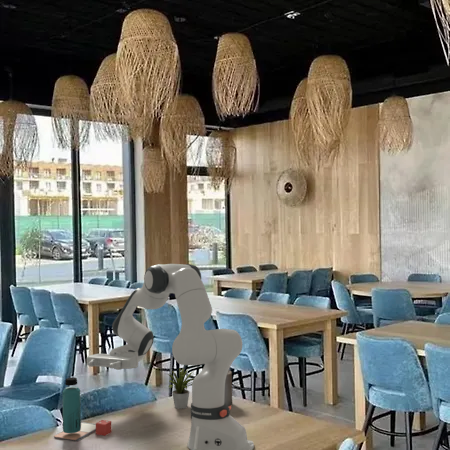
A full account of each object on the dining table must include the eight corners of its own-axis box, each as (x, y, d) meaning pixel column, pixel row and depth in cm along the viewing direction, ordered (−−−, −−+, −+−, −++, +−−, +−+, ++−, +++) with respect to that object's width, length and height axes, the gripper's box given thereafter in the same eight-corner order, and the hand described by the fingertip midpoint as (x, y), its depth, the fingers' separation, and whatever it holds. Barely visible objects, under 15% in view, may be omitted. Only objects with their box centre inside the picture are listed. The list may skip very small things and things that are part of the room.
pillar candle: (222, 399, 254) (221, 364, 254) (237, 404, 246) (236, 369, 246) (204, 404, 248) (203, 368, 248) (218, 409, 240) (218, 373, 240)
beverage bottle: (76, 438, 206) (76, 380, 206) (58, 437, 208) (58, 380, 208) (84, 431, 213) (84, 376, 213) (67, 430, 214) (67, 375, 214)
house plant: (177, 415, 233) (177, 374, 233) (155, 408, 242) (155, 368, 243) (203, 407, 243) (203, 367, 243) (181, 400, 253) (181, 362, 253)
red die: (111, 432, 214) (111, 420, 214) (105, 435, 211) (105, 424, 211) (102, 430, 216) (102, 419, 216) (95, 434, 212) (95, 422, 212)
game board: (103, 426, 220) (103, 424, 220) (76, 441, 205) (76, 439, 205) (81, 423, 224) (81, 421, 224) (52, 438, 208) (52, 436, 208)
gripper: (98, 348, 244) (77, 355, 231) (141, 351, 236) (122, 358, 223) (98, 364, 244) (77, 371, 231) (141, 367, 236) (123, 375, 223)
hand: (100, 365), depth 227 cm, fingers open, 8 cm apart
